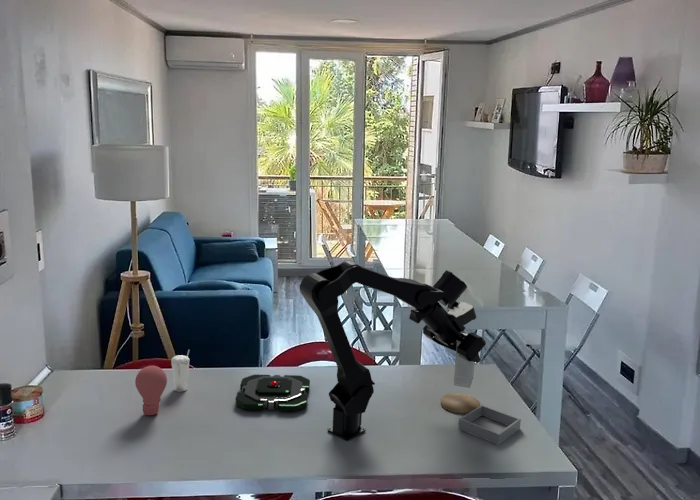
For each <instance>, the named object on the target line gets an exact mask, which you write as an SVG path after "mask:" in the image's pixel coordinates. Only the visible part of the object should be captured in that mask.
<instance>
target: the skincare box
mask: <svg viewBox="0 0 700 500" xmlns="http://www.w3.org/2000/svg"><path fill="white" fill-rule="evenodd" d="M461 333H462V334H464V335H466V336H467V335H468V333H464V332H461ZM459 344H460V343H458V342H457V347H458V345H459ZM458 355H459V354H458V353H457V349H456V351H455V364H454V375H453V385H454V386H457V387H462V388H468V389H470V388H471V387H472V384H473V380H474V378H475V377H474V376H475V367H476V366H475V364H476V362H473V361H470V362H469V361H467V360H465V359H463V358H462V357H460V356H458Z"/></svg>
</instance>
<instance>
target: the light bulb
mask: <svg viewBox="0 0 700 500" xmlns="http://www.w3.org/2000/svg"><path fill="white" fill-rule="evenodd" d="M134 383H135V388H136V389H137V391H138V393H139V395H140V396H141V397H142V413H143V414H144V415H146V416H152V415H153V416H154V415H157V414H158V413H159V411H160V410H159V409H160V402H161V399H162V398H161V397H162V395H163V393H164V391H165V389H166V387H167V384H168V378H167V374H166V372H165V371H164V370H163V369H162V367H159V366H156V365H148V366H145V367H143V368H142V369H140V370H139V371H138V373H137V375H136V377H135V381H134Z"/></svg>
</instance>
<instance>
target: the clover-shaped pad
mask: <svg viewBox="0 0 700 500" xmlns="http://www.w3.org/2000/svg"><path fill="white" fill-rule="evenodd" d="M310 388H311V380H310V379H309V378H307V377H305V376H302V375H300V374H299V375H296V374H295V375H293V374H292V375H291V374H290V375H288V374H285V375H283V376H281V375H279V374H274V375H272V376H271V375H270V374H251V375H248V376H246V377H244V378H241V381H240V386H239V389H240V390H241V391H238V392H236V396H235V399H234V401H235V405H236V406H237V407H239V408H241V409H243V410H246V411H247V410H250V411H251V410H252V411H253V410H254V411H255V410H257V411H262V410H264V409H267V410H268V411H275V409H277V410H278V411H291V412H292V411H293V412H294V411H298V410H300V409H303V408H305V407H307V406H308V404H309V402H308V401H309V393H307V392H309V391H310V390H311V389H310Z"/></svg>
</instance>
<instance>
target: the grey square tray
mask: <svg viewBox="0 0 700 500" xmlns="http://www.w3.org/2000/svg"><path fill="white" fill-rule="evenodd" d="M481 416H483V417H485V418H488V419H490V420H493V421H495V422H499V423H500V424H503V425H505V426H507V427H505V428H503V429H502V430H500V431H498V432H496V431H494V430H491V429H489V428H486V427H484V426H481V425H478V424H476V423H474V422H475V420H477V419H478V418H480V417H481ZM521 422H522V419H521V418H519V417H516V416H513V415H511V414H508V413H506V412H502V411H500V410H497V409H495V408H492V407H489V406H486V405H484V404H480V406H479V407H477V408H476V409H474V410H472V411H471V412H469V413H468V414H463V416H462V417H460V418H458V428H457V429H459V430H461V431H463V432H466V433H469V434H471V435H473V436H475V437H478V438H481V439H484V440H486V441H488V442H490V443H493V444H494V445H495V444H496V445H497V446H499V445H500V444H501V443H503V442H504V441H506V440H507V439H508V438H509V437H511V436H512V435H514V434H515V433H516V432H518V431H519V430H520V429H521Z"/></svg>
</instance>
